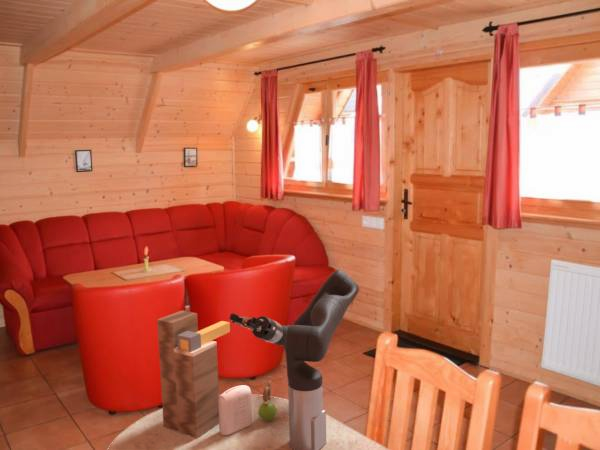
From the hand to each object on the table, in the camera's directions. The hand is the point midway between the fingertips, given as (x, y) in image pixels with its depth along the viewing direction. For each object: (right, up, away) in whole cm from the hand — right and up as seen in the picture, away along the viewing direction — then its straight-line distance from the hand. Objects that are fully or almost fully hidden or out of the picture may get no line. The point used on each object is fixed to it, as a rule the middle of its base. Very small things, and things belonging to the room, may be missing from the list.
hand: (241, 318), depth 173 cm
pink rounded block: (0, -29, -15) cm, 33 cm away
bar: (-9, -4, -14) cm, 17 cm away
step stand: (-13, -29, -13) cm, 35 cm away
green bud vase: (+9, -28, -10) cm, 32 cm away
